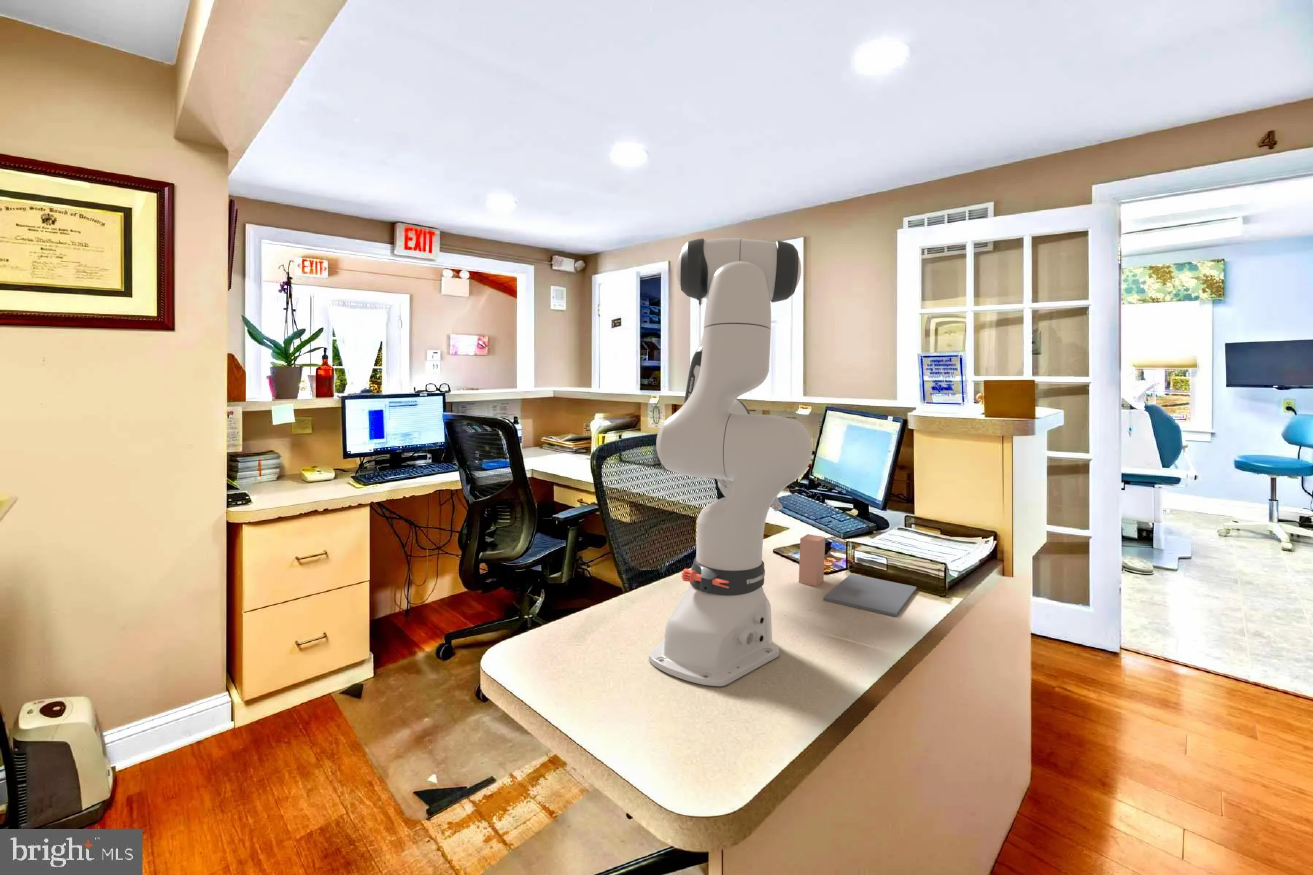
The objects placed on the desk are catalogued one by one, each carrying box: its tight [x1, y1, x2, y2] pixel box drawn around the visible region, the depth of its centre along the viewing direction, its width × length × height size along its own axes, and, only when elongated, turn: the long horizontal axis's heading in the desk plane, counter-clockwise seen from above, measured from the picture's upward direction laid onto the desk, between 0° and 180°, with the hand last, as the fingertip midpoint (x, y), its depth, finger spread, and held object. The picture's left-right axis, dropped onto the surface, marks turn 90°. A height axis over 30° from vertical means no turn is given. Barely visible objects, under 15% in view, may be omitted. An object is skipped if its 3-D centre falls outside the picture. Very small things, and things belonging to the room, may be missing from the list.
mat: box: [823, 573, 917, 618], centre depth 119 cm, size 18×14×1 cm
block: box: [798, 533, 826, 587], centre depth 126 cm, size 4×4×10 cm
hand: (771, 513), depth 131 cm, fingers open, 8 cm apart
